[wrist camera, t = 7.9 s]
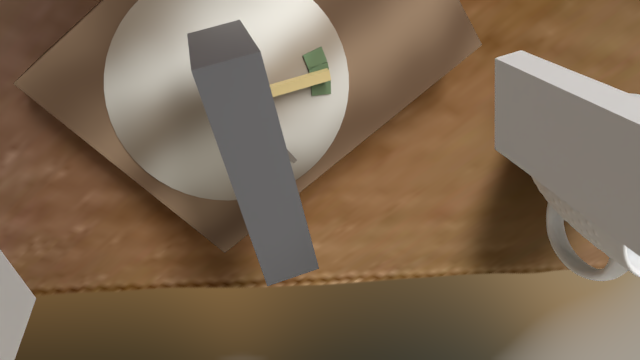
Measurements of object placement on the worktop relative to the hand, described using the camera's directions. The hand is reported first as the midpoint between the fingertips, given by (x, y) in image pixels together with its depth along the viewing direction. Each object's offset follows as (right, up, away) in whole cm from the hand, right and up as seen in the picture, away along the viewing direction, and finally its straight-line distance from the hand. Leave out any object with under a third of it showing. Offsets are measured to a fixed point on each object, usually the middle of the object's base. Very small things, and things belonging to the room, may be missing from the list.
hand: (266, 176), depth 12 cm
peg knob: (-1, +5, +16) cm, 17 cm away
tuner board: (-2, +9, +19) cm, 21 cm away
